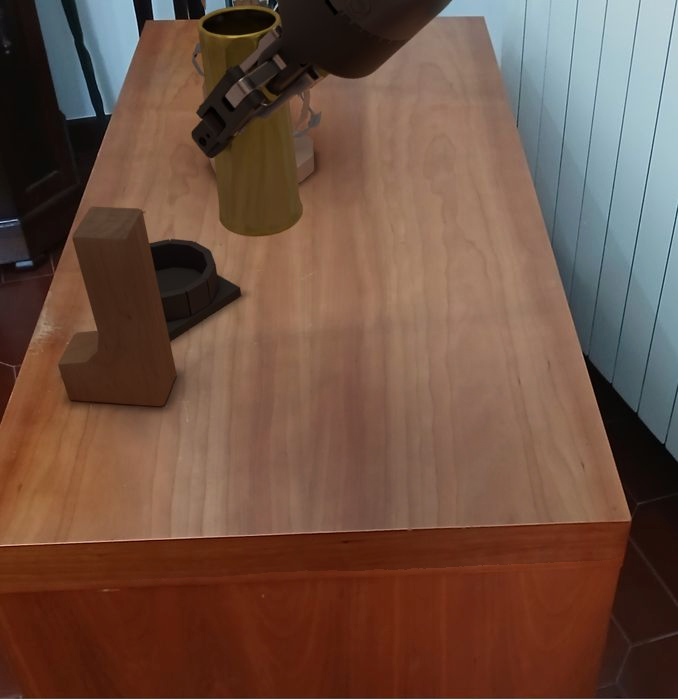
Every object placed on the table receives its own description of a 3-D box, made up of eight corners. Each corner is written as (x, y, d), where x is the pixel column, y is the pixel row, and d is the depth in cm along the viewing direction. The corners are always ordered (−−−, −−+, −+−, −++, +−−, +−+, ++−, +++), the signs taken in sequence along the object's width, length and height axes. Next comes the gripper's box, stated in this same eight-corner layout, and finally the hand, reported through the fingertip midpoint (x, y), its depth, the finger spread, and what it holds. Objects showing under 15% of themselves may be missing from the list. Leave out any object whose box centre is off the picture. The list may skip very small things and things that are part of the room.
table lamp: (354, 121, 120) (343, -237, 94) (350, 212, 104) (336, -191, 78) (189, 124, 121) (133, -229, 95) (160, 215, 105) (83, -182, 79)
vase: (206, 207, 68) (176, 15, 59) (281, 185, 70) (263, -5, 61) (238, 247, 64) (211, 47, 55) (317, 222, 66) (304, 25, 57)
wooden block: (67, 401, 82) (13, 233, 71) (84, 367, 86) (35, 202, 74) (164, 408, 81) (126, 238, 70) (178, 374, 85) (143, 206, 73)
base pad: (164, 344, 88) (157, 312, 85) (101, 303, 93) (93, 271, 91) (241, 295, 93) (237, 262, 91) (178, 258, 99) (172, 227, 96)
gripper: (400, -115, 54) (258, 44, 67) (253, -42, 45) (122, 126, 58) (476, -10, 55) (322, 127, 69) (348, 82, 47) (198, 219, 60)
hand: (230, 126), depth 63 cm, fingers closed on vase, 5 cm apart
